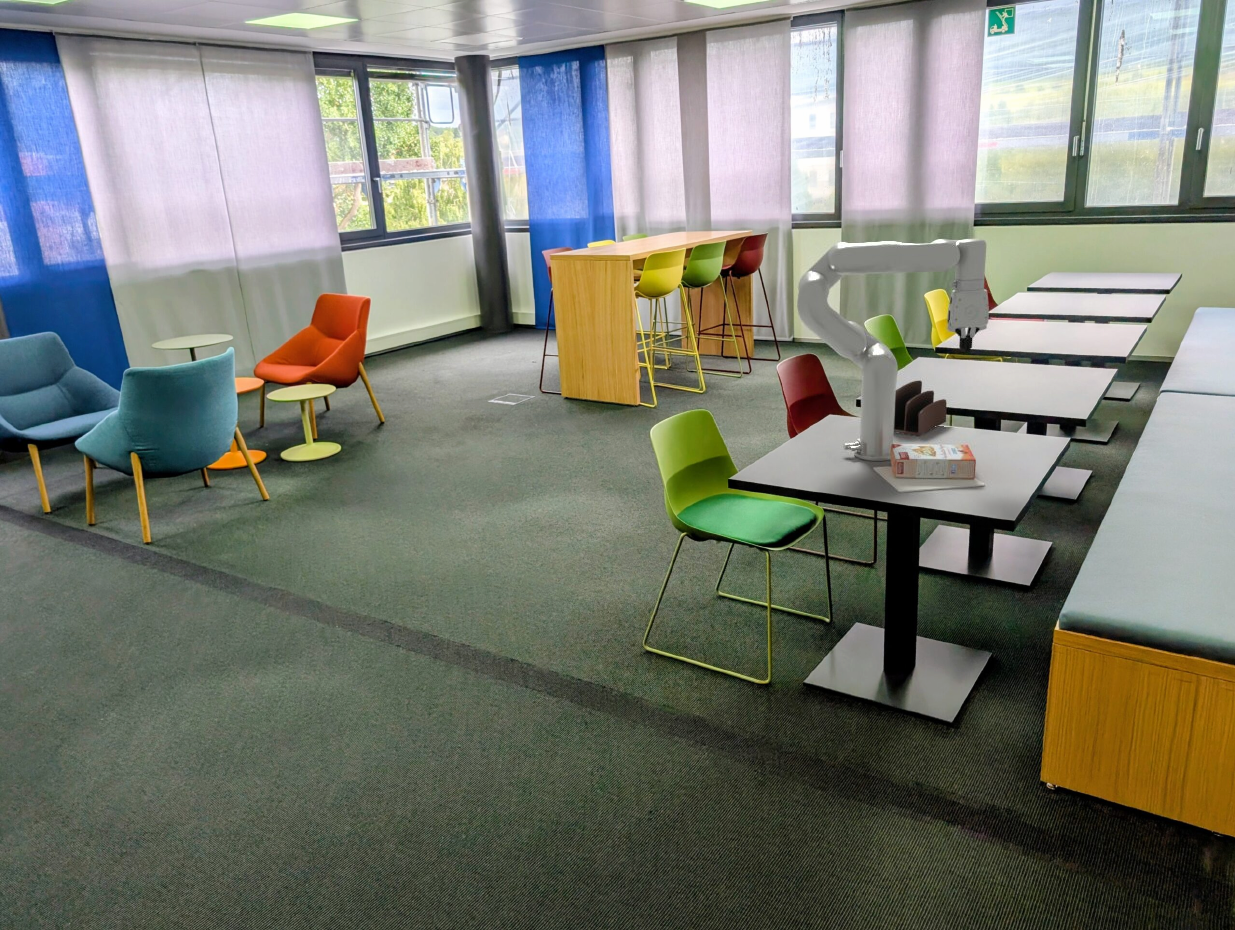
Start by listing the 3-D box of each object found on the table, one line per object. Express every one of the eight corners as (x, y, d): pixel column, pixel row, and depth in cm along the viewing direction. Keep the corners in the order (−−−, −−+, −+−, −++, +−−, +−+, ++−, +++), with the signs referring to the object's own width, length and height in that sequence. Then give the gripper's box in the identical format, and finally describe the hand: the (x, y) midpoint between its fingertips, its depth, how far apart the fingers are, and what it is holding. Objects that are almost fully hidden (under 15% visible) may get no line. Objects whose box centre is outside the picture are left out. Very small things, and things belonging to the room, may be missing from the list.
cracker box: (976, 458, 242) (894, 458, 246) (975, 479, 244) (894, 479, 248) (967, 442, 255) (890, 443, 259) (966, 463, 257) (889, 463, 261)
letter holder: (889, 432, 291) (891, 389, 287) (917, 418, 305) (919, 377, 300) (919, 437, 285) (921, 393, 280) (946, 422, 298) (949, 380, 294)
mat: (899, 492, 239) (899, 491, 238) (873, 468, 258) (873, 467, 257) (984, 486, 240) (984, 484, 240) (952, 462, 259) (952, 461, 259)
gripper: (946, 288, 247) (943, 355, 252) (1002, 285, 247) (997, 352, 252) (937, 285, 254) (934, 350, 260) (991, 282, 254) (986, 347, 259)
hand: (965, 351), depth 256 cm, fingers closed
